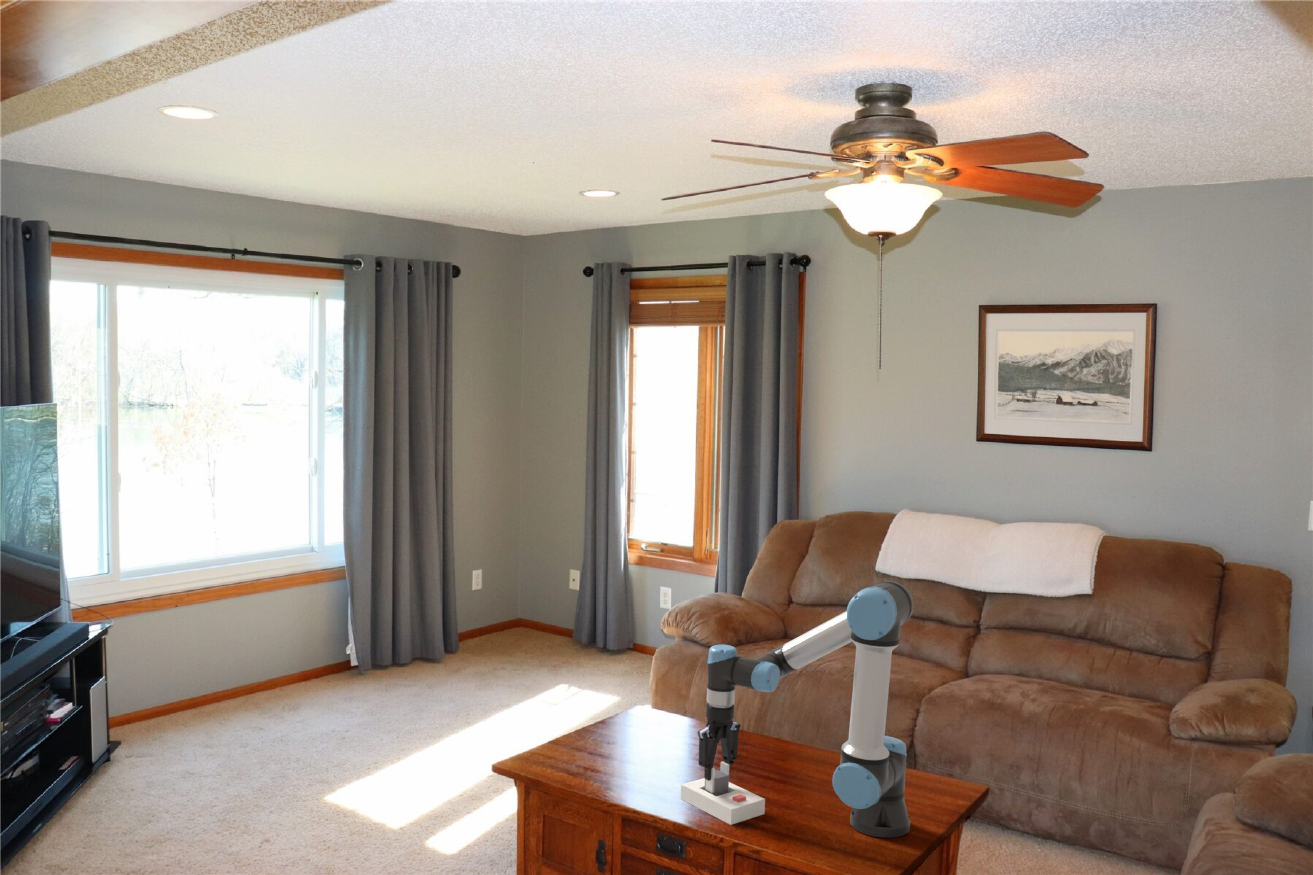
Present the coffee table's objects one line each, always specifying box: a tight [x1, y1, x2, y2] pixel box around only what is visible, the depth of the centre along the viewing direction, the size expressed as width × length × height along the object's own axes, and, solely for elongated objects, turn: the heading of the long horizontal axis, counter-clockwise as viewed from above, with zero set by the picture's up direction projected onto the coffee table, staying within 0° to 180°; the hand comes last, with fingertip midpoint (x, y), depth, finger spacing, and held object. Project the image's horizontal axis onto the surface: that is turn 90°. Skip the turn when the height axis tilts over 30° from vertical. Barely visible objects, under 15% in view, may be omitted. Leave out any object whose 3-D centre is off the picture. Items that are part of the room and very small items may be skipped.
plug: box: [705, 769, 730, 796], centre depth 280 cm, size 4×4×8 cm
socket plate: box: [680, 777, 766, 826], centre depth 278 cm, size 20×12×5 cm, turn 38°
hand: (716, 788), depth 280 cm, fingers closed on plug, 4 cm apart
